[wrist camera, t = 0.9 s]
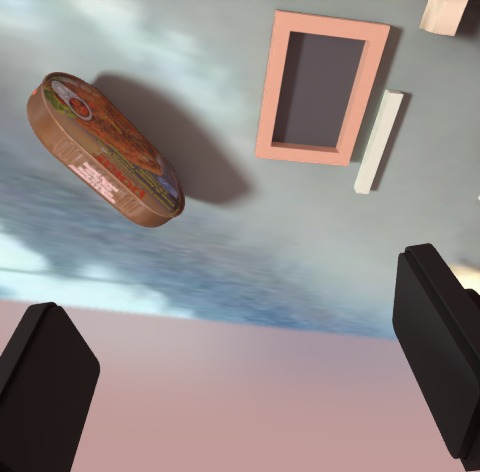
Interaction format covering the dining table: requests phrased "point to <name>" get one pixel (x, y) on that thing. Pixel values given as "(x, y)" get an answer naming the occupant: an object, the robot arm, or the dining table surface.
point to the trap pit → (317, 86)
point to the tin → (104, 150)
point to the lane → (443, 16)
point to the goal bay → (378, 140)
